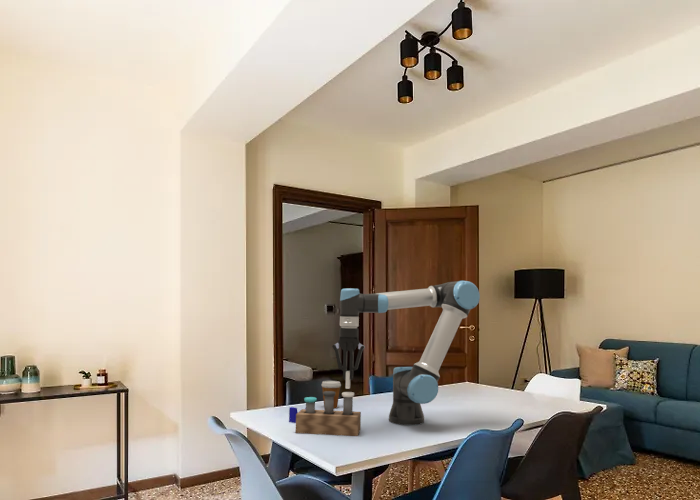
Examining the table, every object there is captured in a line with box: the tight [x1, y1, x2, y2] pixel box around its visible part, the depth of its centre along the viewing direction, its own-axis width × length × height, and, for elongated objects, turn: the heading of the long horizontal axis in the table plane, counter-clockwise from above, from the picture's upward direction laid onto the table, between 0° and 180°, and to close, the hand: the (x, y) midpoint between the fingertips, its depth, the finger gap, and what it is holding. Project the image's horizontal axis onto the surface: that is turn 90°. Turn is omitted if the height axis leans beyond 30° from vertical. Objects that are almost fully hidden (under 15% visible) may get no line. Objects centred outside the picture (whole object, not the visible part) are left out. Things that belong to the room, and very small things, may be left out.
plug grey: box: [341, 391, 355, 415], centre depth 203 cm, size 5×5×9 cm
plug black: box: [322, 391, 335, 414], centre depth 205 cm, size 5×5×9 cm
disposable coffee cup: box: [321, 380, 342, 409], centre depth 250 cm, size 10×10×12 cm
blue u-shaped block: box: [288, 406, 306, 424], centre depth 223 cm, size 12×4×6 cm, turn 143°
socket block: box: [295, 408, 362, 437], centre depth 204 cm, size 24×10×7 cm, turn 82°
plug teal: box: [303, 396, 318, 414], centre depth 205 cm, size 5×5×9 cm
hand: (347, 388), depth 204 cm, fingers closed
